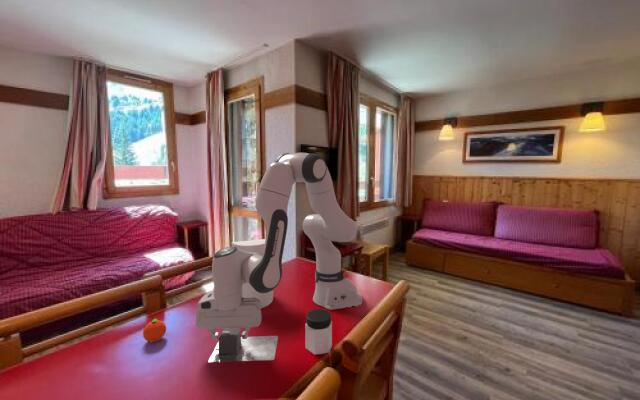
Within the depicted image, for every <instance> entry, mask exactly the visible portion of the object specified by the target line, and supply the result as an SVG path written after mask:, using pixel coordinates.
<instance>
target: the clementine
mask: <svg viewBox="0 0 640 400" xmlns="http://www.w3.org/2000/svg"><path fill="white" fill-rule="evenodd" d="M166 331H167V326H166V323H165V322H164V321H162V320H159V319H158V318H154V319H153V320H152V321H150V322H149V323H147V324H146V325H145V327H144V328H143V331H142V336H143V339H144V340H145V341H147V342H149V343H154V342H158V341H160V340H161V339H163V337H164V336H165V335H166Z"/></svg>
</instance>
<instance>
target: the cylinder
mask: <svg viewBox="0 0 640 400" xmlns="http://www.w3.org/2000/svg"><path fill="white" fill-rule="evenodd" d="M265 240H266V238H262V239H261V238H260V239H251V240H240V241H231V247H236V248H238V249H240V250H242V251H246V252H255V253H258V254H260V255H263V250H264V245H265ZM242 293H243V298H257V299H259V300H260V301H261V309H263V308H266V307H267V306H269V305H270V304H271V303H272V302H273V301H274V289H273V290H272V291H270V292H268V293H259V292H257V291H256V290H255V289H254V288H253V287H252V286H251V285H250V284H248V283H244V284H243V285H242ZM256 301H257V300H256Z"/></svg>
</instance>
